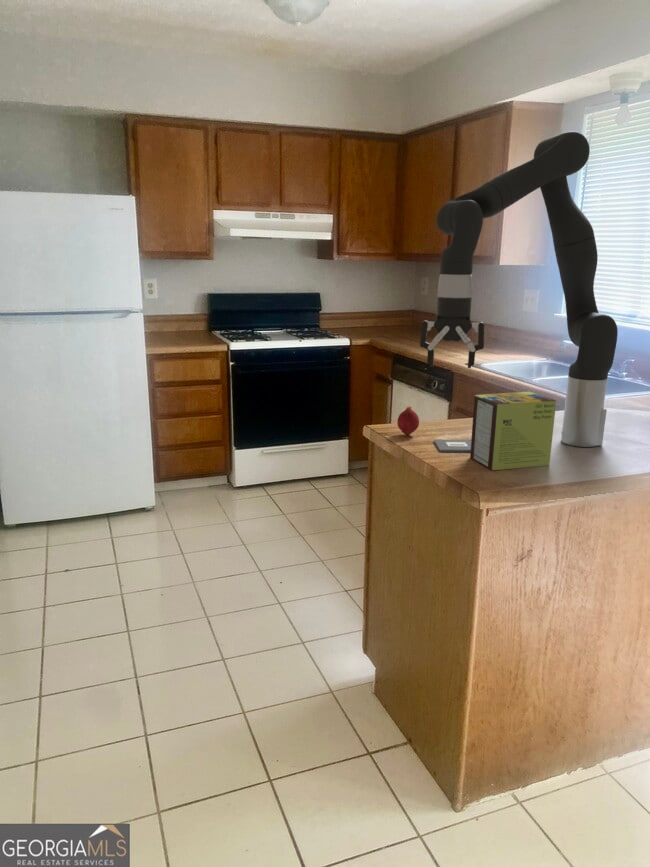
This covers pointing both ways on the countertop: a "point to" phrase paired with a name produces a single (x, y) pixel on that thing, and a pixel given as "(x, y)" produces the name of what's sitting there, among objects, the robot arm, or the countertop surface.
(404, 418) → the onion
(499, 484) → the countertop surface
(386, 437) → the countertop surface
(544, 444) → the protein box
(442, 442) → the label panel
